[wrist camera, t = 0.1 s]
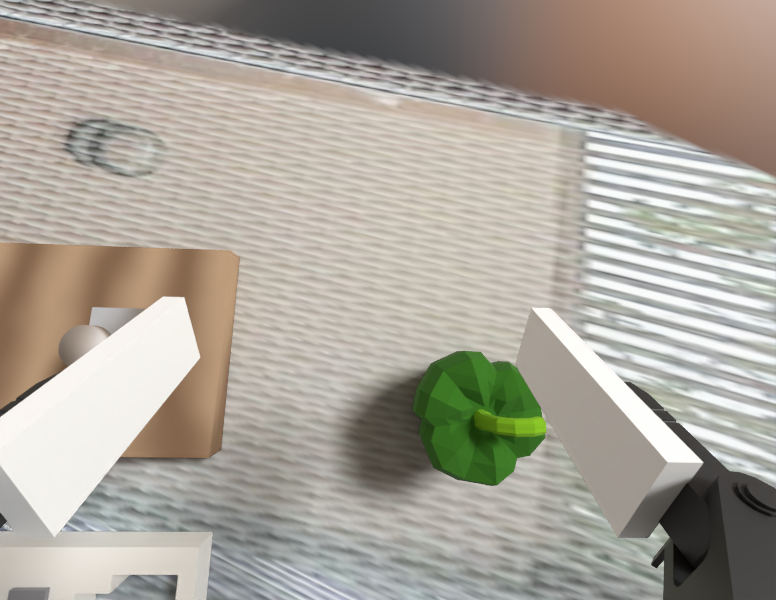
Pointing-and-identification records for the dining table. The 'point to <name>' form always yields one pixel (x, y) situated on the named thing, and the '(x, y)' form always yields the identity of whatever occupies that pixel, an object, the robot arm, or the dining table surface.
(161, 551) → the white slotted base fixture
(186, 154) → the dining table surface
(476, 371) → the bell pepper
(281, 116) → the dining table surface
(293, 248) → the dining table surface
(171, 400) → the pin board
